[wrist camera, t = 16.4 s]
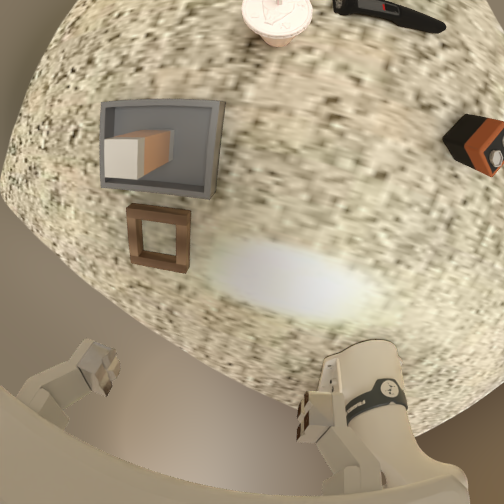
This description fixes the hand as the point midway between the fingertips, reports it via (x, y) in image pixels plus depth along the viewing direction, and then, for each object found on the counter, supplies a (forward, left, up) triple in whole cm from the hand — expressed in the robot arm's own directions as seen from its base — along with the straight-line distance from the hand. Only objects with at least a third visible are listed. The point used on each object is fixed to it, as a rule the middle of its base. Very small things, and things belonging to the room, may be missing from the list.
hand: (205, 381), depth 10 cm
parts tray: (+4, +13, -28) cm, 32 cm away
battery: (+14, -28, -29) cm, 42 cm away
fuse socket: (-10, +13, -28) cm, 33 cm away
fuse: (+4, +13, -27) cm, 31 cm away
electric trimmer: (+28, -13, -29) cm, 42 cm away
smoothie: (+20, 0, -29) cm, 35 cm away
